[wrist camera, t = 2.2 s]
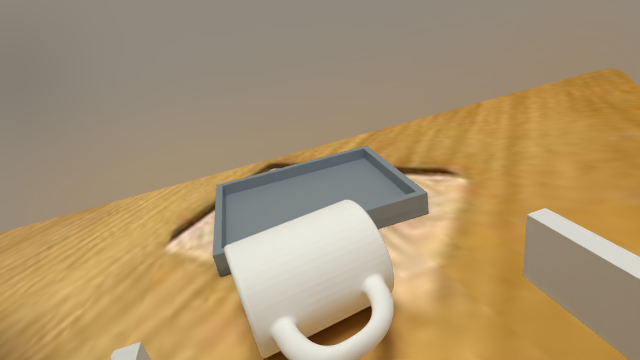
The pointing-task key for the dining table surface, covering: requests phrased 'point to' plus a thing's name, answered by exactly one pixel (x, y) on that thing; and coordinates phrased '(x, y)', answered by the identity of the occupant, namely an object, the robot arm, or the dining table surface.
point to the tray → (313, 196)
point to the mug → (314, 282)
